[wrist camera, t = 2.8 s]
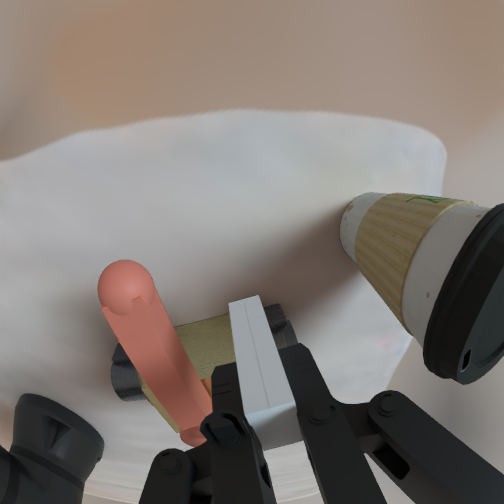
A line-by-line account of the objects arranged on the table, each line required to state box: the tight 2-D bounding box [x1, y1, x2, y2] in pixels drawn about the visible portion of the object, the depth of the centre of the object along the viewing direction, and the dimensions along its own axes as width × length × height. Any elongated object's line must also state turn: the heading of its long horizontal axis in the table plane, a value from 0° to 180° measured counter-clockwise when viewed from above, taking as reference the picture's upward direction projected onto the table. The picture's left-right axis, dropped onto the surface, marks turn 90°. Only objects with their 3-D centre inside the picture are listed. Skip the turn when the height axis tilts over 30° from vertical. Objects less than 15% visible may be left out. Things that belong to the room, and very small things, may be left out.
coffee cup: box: [339, 192, 504, 385], centre depth 15 cm, size 10×10×15 cm
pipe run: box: [111, 304, 298, 433], centre depth 21 cm, size 16×6×8 cm, turn 104°
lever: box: [98, 260, 213, 447], centre depth 14 cm, size 14×3×3 cm, turn 14°
